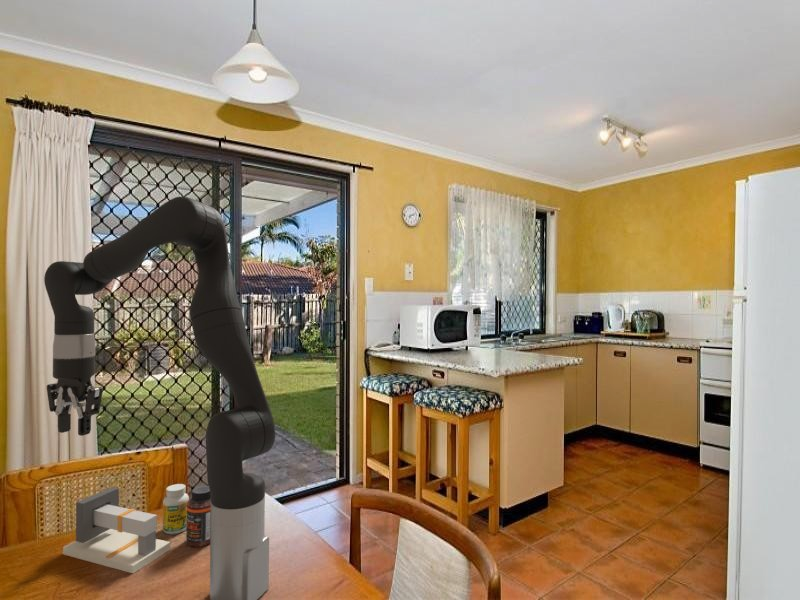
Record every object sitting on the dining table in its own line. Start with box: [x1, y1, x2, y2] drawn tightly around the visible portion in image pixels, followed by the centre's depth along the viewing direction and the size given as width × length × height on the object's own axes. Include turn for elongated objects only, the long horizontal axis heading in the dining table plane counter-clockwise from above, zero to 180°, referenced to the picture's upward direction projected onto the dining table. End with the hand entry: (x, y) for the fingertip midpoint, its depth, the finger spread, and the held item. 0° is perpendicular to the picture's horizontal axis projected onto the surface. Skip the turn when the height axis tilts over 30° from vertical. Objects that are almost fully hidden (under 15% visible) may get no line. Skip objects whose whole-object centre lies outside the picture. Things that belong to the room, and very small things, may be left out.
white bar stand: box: [62, 504, 171, 574], centre depth 96 cm, size 19×9×9 cm, turn 71°
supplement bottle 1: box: [162, 483, 190, 535], centre depth 105 cm, size 5×5×10 cm
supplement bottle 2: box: [185, 485, 211, 547], centre depth 101 cm, size 6×6×11 cm
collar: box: [75, 486, 120, 543], centre depth 98 cm, size 2×8×8 cm, turn 161°
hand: (74, 432), depth 100 cm, fingers open, 5 cm apart
